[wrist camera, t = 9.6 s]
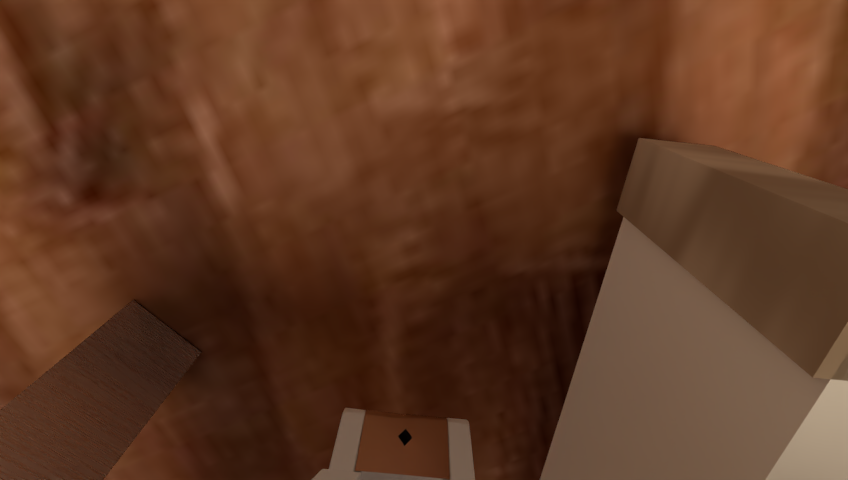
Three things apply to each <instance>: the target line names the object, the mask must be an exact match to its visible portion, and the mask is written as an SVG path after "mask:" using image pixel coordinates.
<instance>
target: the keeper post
mask: <svg viewBox="0 0 848 480" xmlns="http://www.w3.org/2000/svg"><path fill="white" fill-rule="evenodd" d="M200 353H201V352H200V351H199V350H198V349H197V348H195V347H194V346H193V345H191V344H190V343H189V342H187V341H186V340H185V339H184V338H182V337H181V336H180V335H178V334H177V333H176V332H174V331H173V330H172V329H171V328H169V327H168V326H167V325H165V324H164V323H163V322H161V321H160V320H159V319H157V318H156V317H155V316H154V315H152V314H151V313H150V312H148V311H147V310H146V309H144V308H143V307H142V306H141V305H139V304H138V303H137V302H135V301H134V300H133V301H131V302H130V303H129V304H128V305H127V306H125V307H124V308H123V309H122V310H120V311H119V312H118V313H117V314H116V315H114V316H113V317H112V318H111V319H110V320H108V321H107V322H106V323H105V324H104V325H102V326H101V327H100V328H99V329H98V330H96V331H95V332H94V333H93V334H91V335H90V336H89V337H88V338H87V339H85V340H84V341H83V342H82V343H81V344H79V345H78V346H77V347H76V348H75V349H73V350H72V351H71V352H70V353H69V354H67V355H66V356H65V357H64V358H62V359H61V360H60V361H59V362H58V363H56V364H55V365H54V366H53V367H52V368H50V369H49V370H48V371H47V372H46V373H44V374H43V375H42V376H41V377H40V378H38V379H37V380H36V381H35V382H33V383H32V384H31V385H30V386H29V387H27V388H26V389H25V390H24V391H23V392H21V393H20V394H19V395H18V396H17V397H15V398H14V399H13V400H12V401H11V402H9V403H8V404H7V405H6V406H4V407H3V408H2V409H1V410H0V480H103V479H104V478H105V477H106V476H107V474H108V473H109V472H110V470H111V469H112V468H113V466H114V465H115V464H116V463H117V461H118V460H119V459H120V457H121V456H122V455H123V453H124V452H125V451H126V450H127V448H128V447H129V446H130V444H131V443H132V442H133V440H134V439H135V438H136V437H137V435H138V434H139V433H140V431H141V430H142V429H143V427H144V426H145V425H146V424H147V422H148V421H149V420H150V418H151V417H152V416H153V414H154V413H155V412H156V411H157V409H158V408H159V407H160V405H161V404H162V403H163V401H164V400H165V399H166V398H167V396H168V395H169V394H170V392H171V391H172V390H173V388H174V387H175V386H176V385H177V383H178V382H179V381H180V379H181V378H182V377H183V375H184V374H185V373H186V372H187V370H188V369H189V368H190V366H191V365H192V364H193V362H194V361H195V360H196V359H197V357H198V356H199V355H200Z"/></svg>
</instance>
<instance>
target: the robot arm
mask: <svg viewBox="0 0 848 480" xmlns="http://www.w3.org/2000/svg"><path fill="white" fill-rule="evenodd" d="M311 480H475V473H474V464H473V454H472V445H471V435H470V426H469V422H468V420H466V419H455V418H447V419H446V417H434V416H423V415H411V414H406V415H405V414H397V413H389V412H381V411H373V410H362V409H353V408H345V409H344V411H343V413H342V417H341V421H340V425H339V429H338V433H337V437H336V441H335V445H334V449H333V454H332V458H331V462H330V466H329V469H321V470H320V471H319V472H318V473H317V474H316V475H315V476H314V477H313V478H312V479H311Z"/></svg>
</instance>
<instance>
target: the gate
mask: <svg viewBox="0 0 848 480" xmlns="http://www.w3.org/2000/svg"><path fill="white" fill-rule="evenodd" d="M616 211H617V212H619V213H620V214H621V215H622V216H623V220H622V223H621V226H620V229H619V232H618V236H617V239H616V242H615V245H614V248H613V251H612V254H611V258H610V261H609V264H608V267H607V270H606V273H605V276H604V280H603V283H602V286H601V289H600V292H599V295H598V298H597V302H596V305H595V308H594V311H593V314H592V317H591V320H590V324H589V327H588V330H587V333H586V336H585V339H584V342H583V346H582V349H581V352H580V355H579V358H578V361H577V364H576V368H575V371H574V374H573V377H572V380H571V383H570V386H569V389H568V393H567V396H566V399H565V402H564V405H563V408H562V411H561V415H560V418H559V421H558V424H557V427H556V430H555V433H554V437H553V440H552V443H551V446H550V449H549V452H548V455H547V459H546V462H545V465H544V468H543V471H542V474H541V477H540V480H848V189H845V188H842V187H839V186H836V185H833V184H829V183H826V182H823V181H820V180H817V179H814V178H811V177H808V176H805V175H802V174H799V173H796V172H793V171H790V170H787V169H784V168H781V167H778V166H775V165H771V164H768V163H765V162H762V161H759V160H756V159H753V158H750V157H747V156H744V155H741V154H738V153H735V152H732V151H729V150H726V149H723V148H720V147H716V146H711V145H701V144H692V143H682V142H673V141H663V140H654V139H644V138H639V139H638V142H637V145H636V149H635V152H634V155H633V158H632V161H631V165H630V168H629V171H628V174H627V178H626V181H625V184H624V187H623V191H622V194H621V197H620V200H619V204H618V207H617V210H616Z"/></svg>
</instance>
